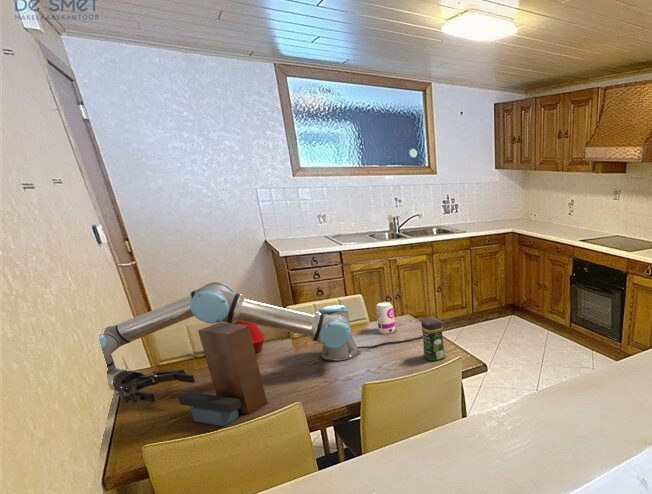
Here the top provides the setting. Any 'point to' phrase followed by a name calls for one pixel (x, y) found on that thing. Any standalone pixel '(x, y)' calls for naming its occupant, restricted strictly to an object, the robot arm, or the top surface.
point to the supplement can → (385, 317)
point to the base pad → (213, 416)
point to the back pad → (210, 401)
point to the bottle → (255, 335)
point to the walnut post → (233, 364)
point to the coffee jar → (432, 338)
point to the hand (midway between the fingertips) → (174, 388)
